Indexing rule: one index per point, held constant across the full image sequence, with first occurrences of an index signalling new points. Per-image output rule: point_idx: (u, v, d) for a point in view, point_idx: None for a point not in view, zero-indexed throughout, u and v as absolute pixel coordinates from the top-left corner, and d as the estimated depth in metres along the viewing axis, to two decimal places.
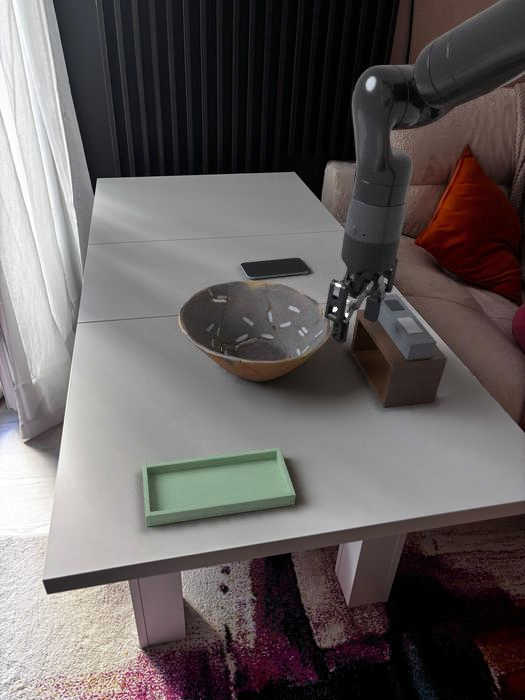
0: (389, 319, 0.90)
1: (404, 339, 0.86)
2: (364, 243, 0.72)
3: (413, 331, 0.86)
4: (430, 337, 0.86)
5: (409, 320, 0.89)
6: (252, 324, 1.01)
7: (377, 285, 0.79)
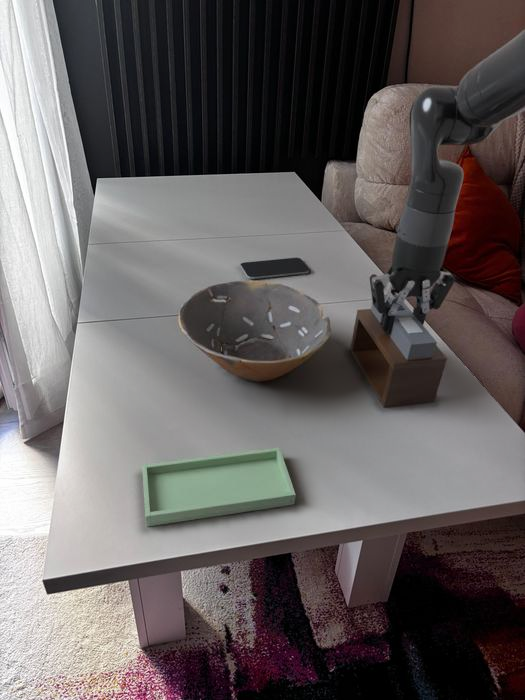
0: None
1: (404, 339, 0.86)
2: (403, 242, 0.80)
3: (413, 331, 0.86)
4: (430, 337, 0.86)
5: (409, 320, 0.89)
6: (252, 324, 1.01)
7: (421, 288, 0.86)
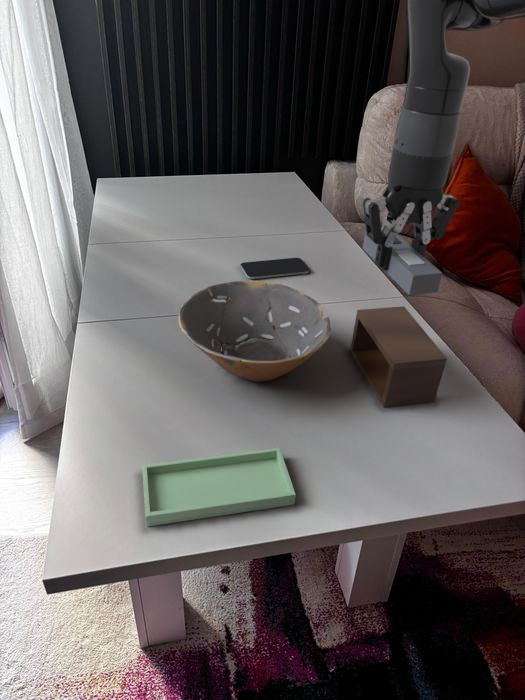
0: None
1: (404, 271, 0.75)
2: (401, 154, 0.69)
3: (414, 263, 0.76)
4: (434, 268, 0.75)
5: (408, 252, 0.78)
6: (252, 324, 1.01)
7: (422, 213, 0.75)
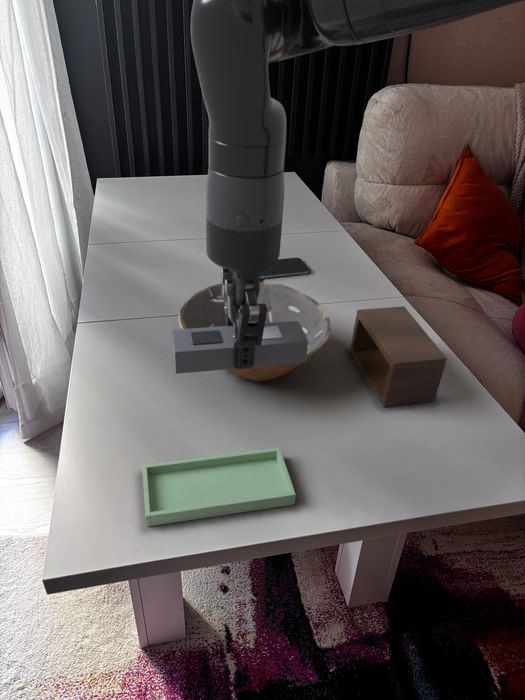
0: None
1: (289, 346, 0.62)
2: (262, 232, 0.52)
3: (277, 333, 0.63)
4: (287, 323, 0.65)
5: None
6: None
7: None
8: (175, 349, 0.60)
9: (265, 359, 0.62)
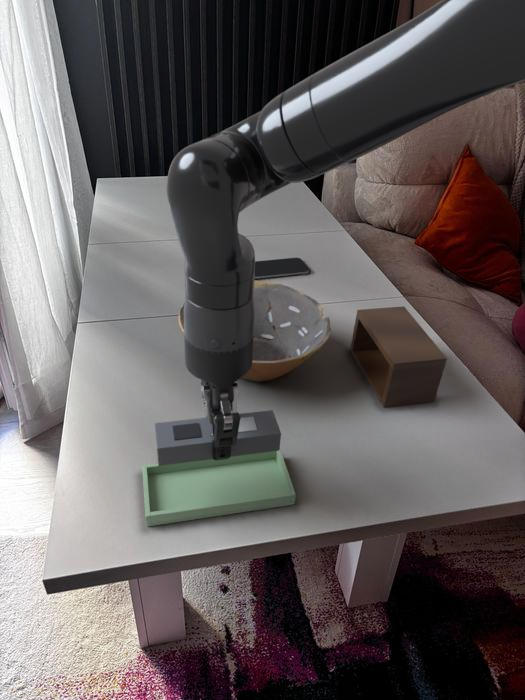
0: None
1: (263, 438, 0.67)
2: (235, 352, 0.57)
3: (253, 425, 0.68)
4: (262, 413, 0.70)
5: None
6: None
7: None
8: (157, 445, 0.65)
9: (241, 450, 0.68)
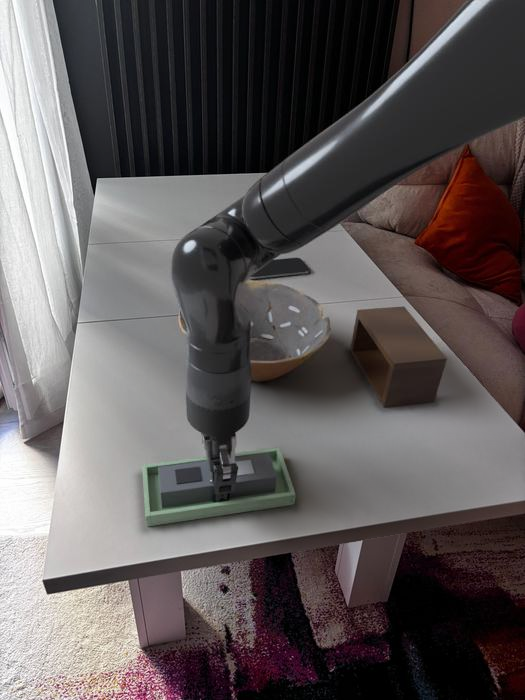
0: None
1: (260, 481, 0.72)
2: (233, 409, 0.62)
3: (250, 468, 0.73)
4: (259, 456, 0.75)
5: None
6: (252, 324, 1.01)
7: None
8: (161, 489, 0.69)
9: (239, 492, 0.72)
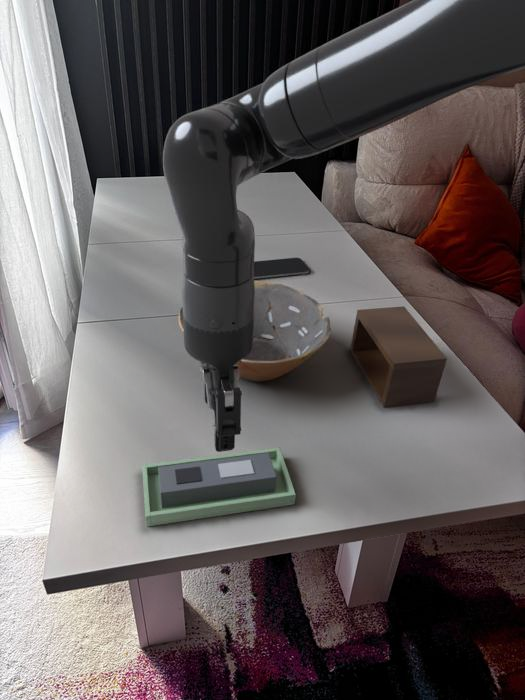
0: (216, 487, 0.71)
1: (260, 481, 0.72)
2: (235, 332, 0.56)
3: (250, 468, 0.73)
4: (259, 456, 0.75)
5: (226, 467, 0.73)
6: None
7: None
8: (161, 489, 0.69)
9: (239, 492, 0.72)
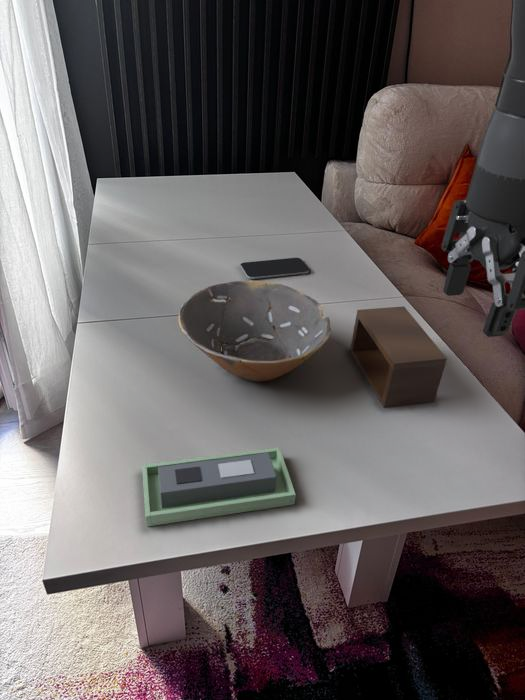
0: (216, 487, 0.71)
1: (260, 481, 0.72)
2: None
3: (250, 468, 0.73)
4: (259, 456, 0.75)
5: (226, 467, 0.73)
6: (252, 324, 1.01)
7: None
8: (161, 489, 0.69)
9: (239, 492, 0.72)
